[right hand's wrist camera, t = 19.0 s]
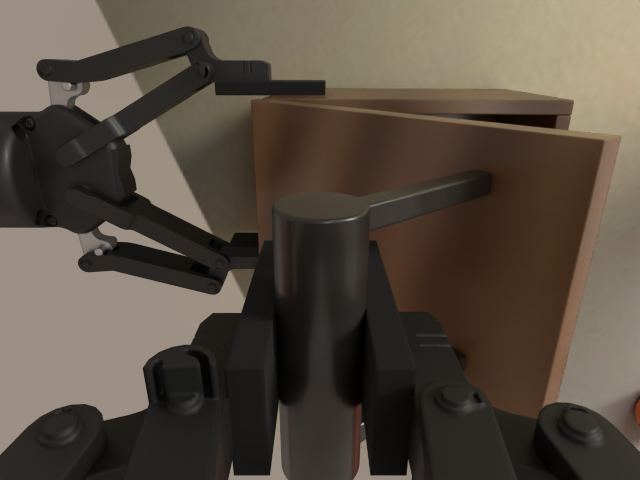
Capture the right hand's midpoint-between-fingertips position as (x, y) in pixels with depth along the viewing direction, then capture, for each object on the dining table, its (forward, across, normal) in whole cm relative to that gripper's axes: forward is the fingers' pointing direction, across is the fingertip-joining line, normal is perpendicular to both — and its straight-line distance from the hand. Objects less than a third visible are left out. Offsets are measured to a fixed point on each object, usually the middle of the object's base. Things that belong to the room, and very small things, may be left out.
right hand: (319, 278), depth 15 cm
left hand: (+16, 0, 0) cm, 16 cm away
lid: (+5, +3, 0) cm, 5 cm away
